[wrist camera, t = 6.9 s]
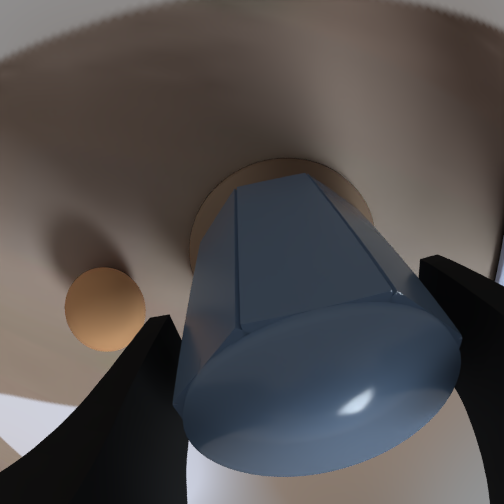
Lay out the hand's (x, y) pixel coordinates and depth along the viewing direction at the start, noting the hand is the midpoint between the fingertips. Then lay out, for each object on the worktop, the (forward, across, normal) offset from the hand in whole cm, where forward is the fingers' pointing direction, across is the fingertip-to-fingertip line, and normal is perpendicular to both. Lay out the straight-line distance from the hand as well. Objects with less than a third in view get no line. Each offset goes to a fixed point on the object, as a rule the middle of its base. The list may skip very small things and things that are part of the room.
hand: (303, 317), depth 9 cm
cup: (+3, 0, 0) cm, 3 cm away
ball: (+2, +7, 0) cm, 7 cm away
